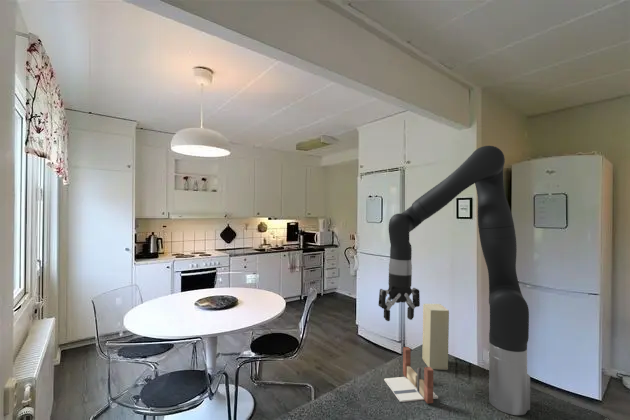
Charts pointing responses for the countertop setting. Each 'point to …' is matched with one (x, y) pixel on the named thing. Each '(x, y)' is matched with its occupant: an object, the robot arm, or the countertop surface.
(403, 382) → the card
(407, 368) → the toy gate half
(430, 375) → the brown piece
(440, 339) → the upright wooden block
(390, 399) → the countertop surface
